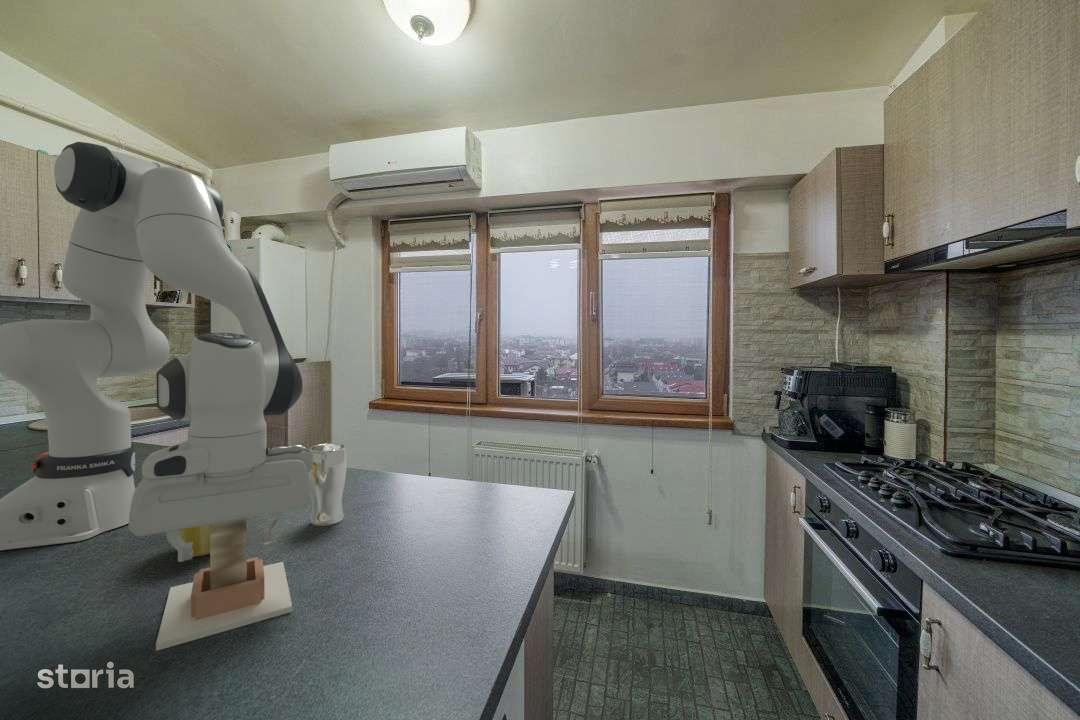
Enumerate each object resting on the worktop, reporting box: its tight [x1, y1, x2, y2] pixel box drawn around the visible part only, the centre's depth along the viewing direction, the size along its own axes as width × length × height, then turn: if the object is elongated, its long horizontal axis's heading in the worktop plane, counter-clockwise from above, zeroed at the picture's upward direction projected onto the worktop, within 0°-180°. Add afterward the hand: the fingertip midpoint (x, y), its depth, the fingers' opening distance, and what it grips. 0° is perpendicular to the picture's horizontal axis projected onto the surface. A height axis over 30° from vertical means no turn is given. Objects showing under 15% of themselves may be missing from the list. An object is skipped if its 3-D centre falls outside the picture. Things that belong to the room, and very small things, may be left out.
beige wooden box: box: [209, 518, 248, 590], centre depth 61 cm, size 4×4×10 cm
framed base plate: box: [155, 556, 293, 651], centre depth 61 cm, size 14×14×4 cm
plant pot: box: [176, 520, 232, 558], centre depth 76 cm, size 10×10×10 cm
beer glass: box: [309, 442, 348, 527], centre depth 89 cm, size 7×7×15 cm
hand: (229, 550), depth 61 cm, fingers open, 8 cm apart
